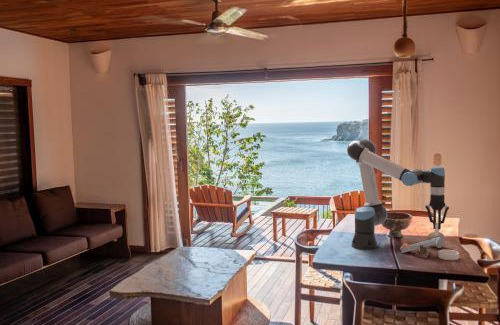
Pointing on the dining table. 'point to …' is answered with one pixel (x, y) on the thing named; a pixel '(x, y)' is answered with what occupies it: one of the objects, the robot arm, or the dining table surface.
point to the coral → (441, 240)
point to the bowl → (448, 254)
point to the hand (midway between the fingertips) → (436, 234)
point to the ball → (405, 245)
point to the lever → (417, 245)
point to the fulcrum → (422, 252)
